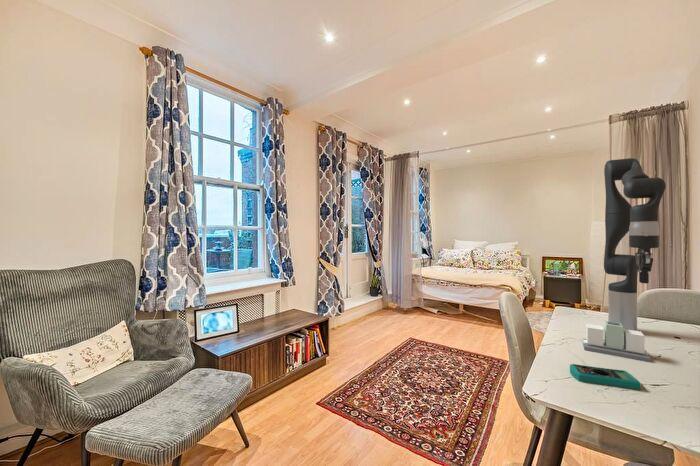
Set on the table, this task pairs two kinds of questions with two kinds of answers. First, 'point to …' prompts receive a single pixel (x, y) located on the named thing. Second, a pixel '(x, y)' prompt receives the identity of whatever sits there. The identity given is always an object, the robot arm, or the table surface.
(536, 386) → the table surface
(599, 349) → the rail panel
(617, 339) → the block
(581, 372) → the digital multimeter
